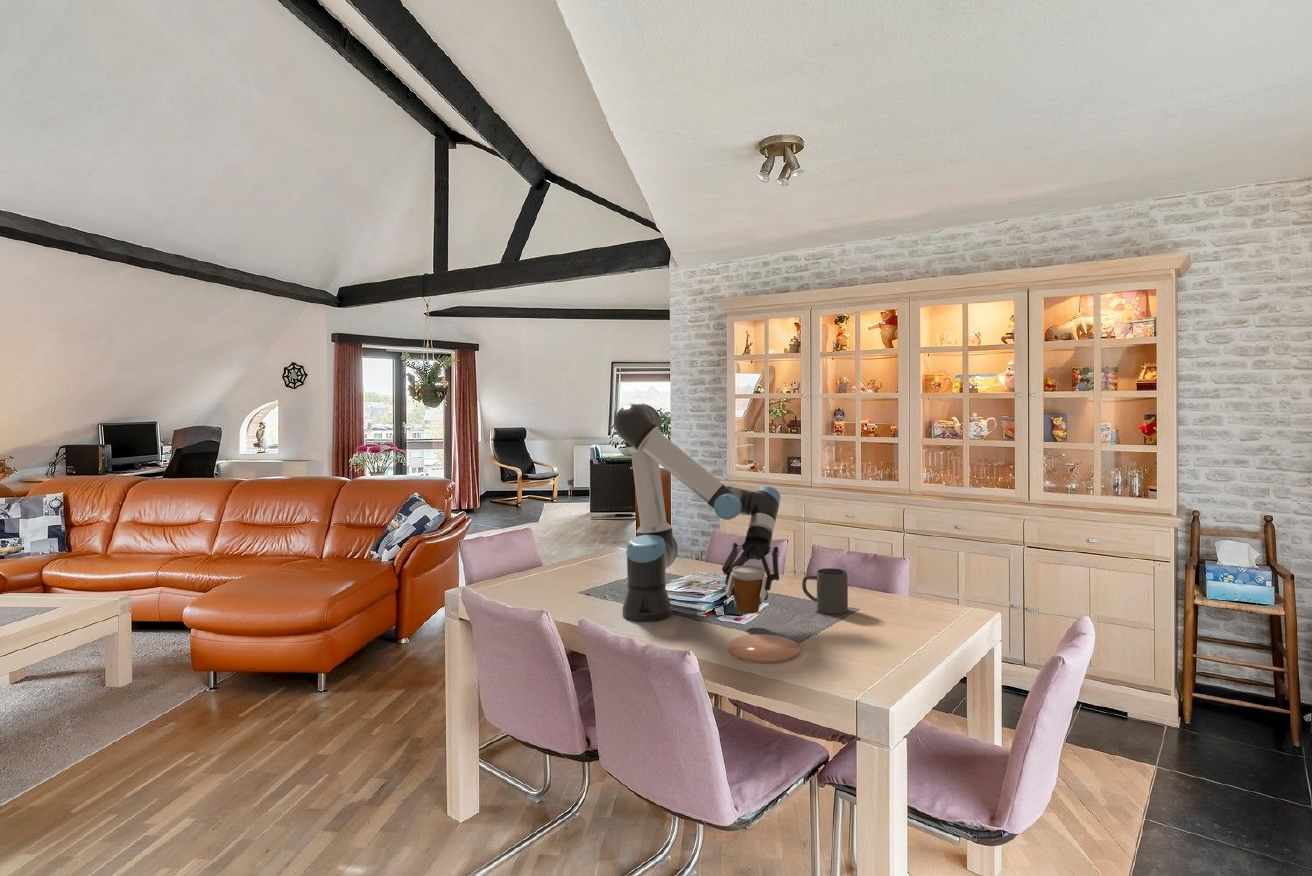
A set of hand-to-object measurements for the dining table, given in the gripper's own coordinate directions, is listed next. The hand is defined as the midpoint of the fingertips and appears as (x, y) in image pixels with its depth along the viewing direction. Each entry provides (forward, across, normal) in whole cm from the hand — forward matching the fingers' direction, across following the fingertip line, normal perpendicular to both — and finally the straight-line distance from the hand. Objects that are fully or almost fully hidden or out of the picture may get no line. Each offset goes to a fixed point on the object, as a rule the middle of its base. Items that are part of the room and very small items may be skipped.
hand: (744, 597), depth 191 cm
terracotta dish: (+17, -9, +4) cm, 19 cm away
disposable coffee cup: (+1, 0, -6) cm, 6 cm away
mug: (-13, -18, -25) cm, 33 cm away
